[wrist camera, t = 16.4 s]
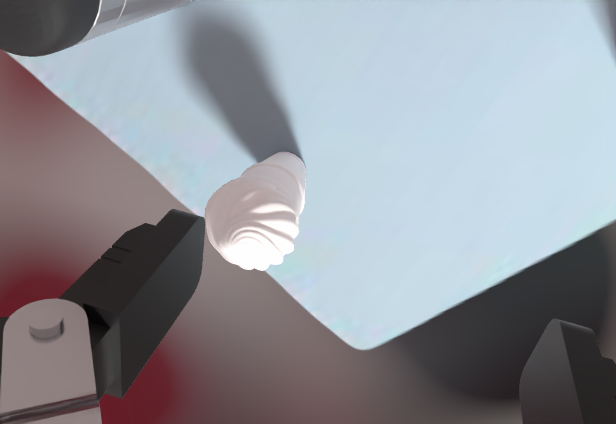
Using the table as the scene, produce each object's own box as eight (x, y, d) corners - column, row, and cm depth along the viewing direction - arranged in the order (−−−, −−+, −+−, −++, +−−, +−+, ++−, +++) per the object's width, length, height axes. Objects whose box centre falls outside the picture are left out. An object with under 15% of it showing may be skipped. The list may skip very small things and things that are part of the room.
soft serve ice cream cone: (340, 190, 55) (301, 284, 41) (273, 216, 58) (217, 310, 45) (300, 119, 52) (245, 194, 38) (233, 151, 55) (160, 230, 42)
